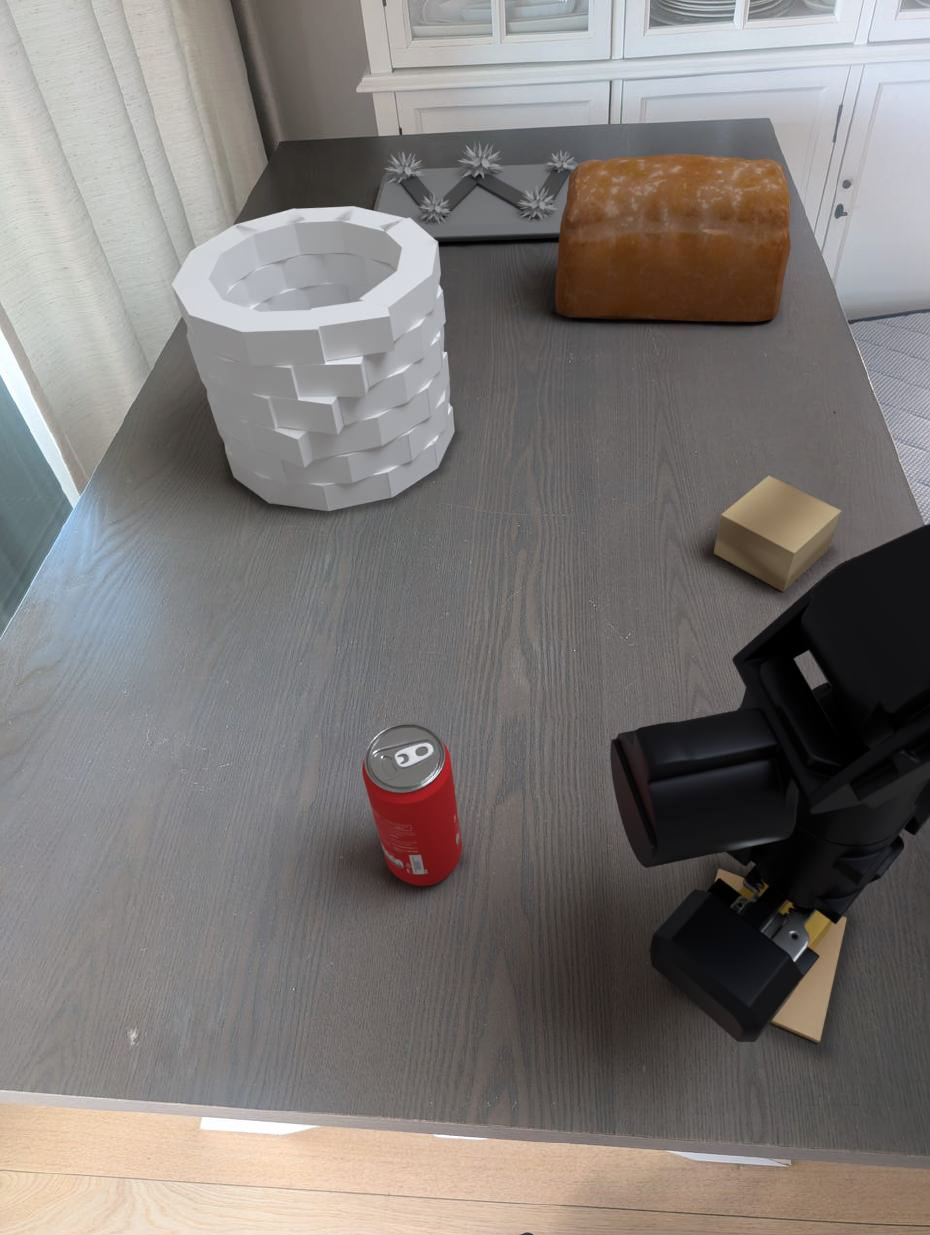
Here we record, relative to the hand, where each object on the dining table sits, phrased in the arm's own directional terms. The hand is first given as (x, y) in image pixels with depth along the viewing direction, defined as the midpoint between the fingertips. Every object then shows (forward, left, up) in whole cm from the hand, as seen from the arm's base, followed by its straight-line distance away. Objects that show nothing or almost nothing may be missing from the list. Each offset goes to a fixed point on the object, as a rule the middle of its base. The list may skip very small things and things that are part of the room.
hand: (774, 931), depth 52 cm
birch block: (+8, -35, -3) cm, 36 cm away
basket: (+52, -35, -3) cm, 63 cm away
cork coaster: (0, 0, -3) cm, 3 cm away
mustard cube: (0, 0, -1) cm, 1 cm away
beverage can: (+22, +3, -3) cm, 22 cm away
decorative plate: (+62, -89, -3) cm, 108 cm away
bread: (+30, -74, -3) cm, 80 cm away
